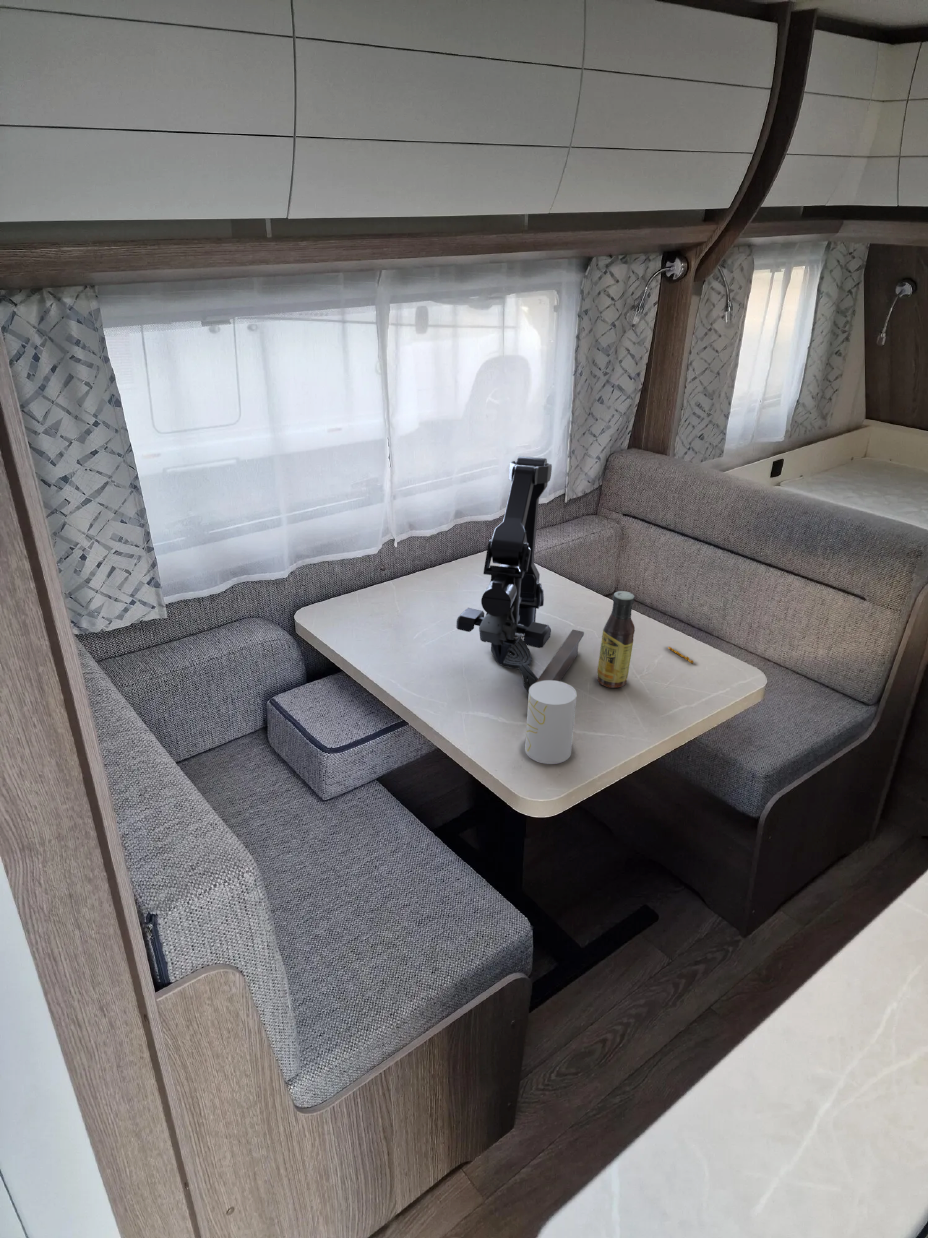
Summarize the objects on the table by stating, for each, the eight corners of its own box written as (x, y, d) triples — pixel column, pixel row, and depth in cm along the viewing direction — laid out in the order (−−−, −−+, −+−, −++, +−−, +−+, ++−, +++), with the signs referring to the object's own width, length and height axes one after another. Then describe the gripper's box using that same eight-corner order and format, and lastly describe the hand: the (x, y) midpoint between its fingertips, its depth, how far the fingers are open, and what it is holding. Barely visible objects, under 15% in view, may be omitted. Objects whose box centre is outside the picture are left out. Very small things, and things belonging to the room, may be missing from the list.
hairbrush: (518, 689, 158) (485, 627, 180) (516, 704, 160) (485, 642, 181) (558, 685, 160) (521, 624, 182) (556, 700, 162) (520, 639, 183)
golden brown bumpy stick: (694, 663, 176) (694, 659, 175) (690, 664, 175) (691, 660, 175) (669, 648, 182) (670, 644, 181) (666, 649, 181) (666, 645, 181)
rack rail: (570, 653, 179) (572, 629, 176) (582, 655, 178) (584, 631, 175) (529, 715, 155) (530, 689, 153) (542, 718, 154) (544, 692, 152)
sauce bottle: (590, 677, 169) (599, 589, 160) (616, 672, 171) (627, 585, 162) (607, 692, 163) (617, 602, 155) (633, 687, 166) (645, 598, 157)
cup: (521, 738, 148) (525, 680, 143) (566, 737, 149) (571, 679, 144) (528, 764, 141) (532, 705, 136) (575, 763, 142) (581, 704, 136)
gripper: (446, 601, 160) (444, 670, 166) (537, 620, 153) (530, 692, 160) (468, 581, 169) (465, 647, 176) (554, 599, 163) (548, 667, 169)
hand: (500, 663), depth 170 cm, fingers closed, pressing on hairbrush
